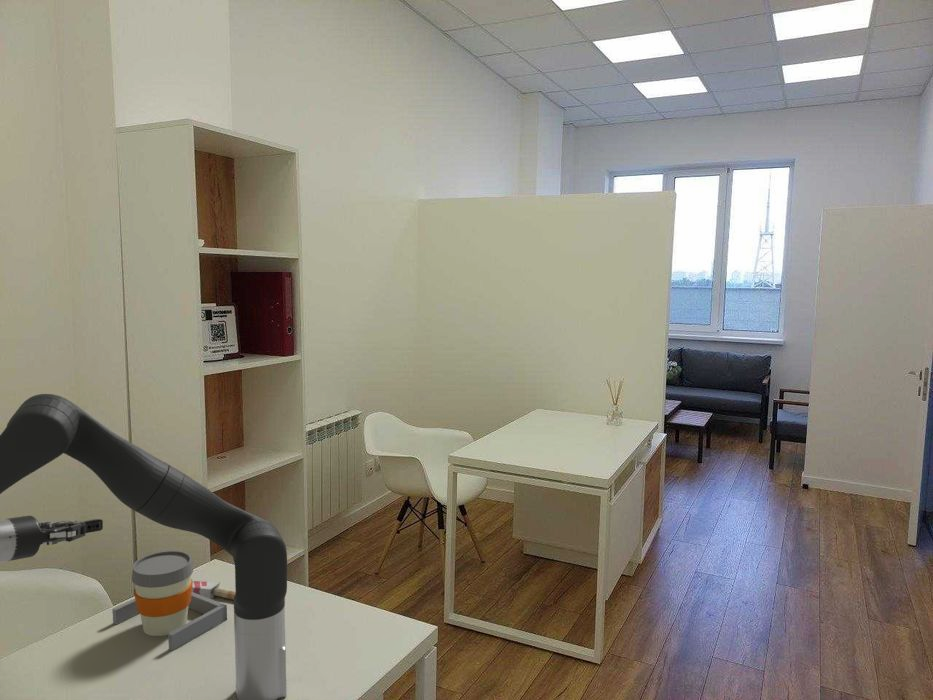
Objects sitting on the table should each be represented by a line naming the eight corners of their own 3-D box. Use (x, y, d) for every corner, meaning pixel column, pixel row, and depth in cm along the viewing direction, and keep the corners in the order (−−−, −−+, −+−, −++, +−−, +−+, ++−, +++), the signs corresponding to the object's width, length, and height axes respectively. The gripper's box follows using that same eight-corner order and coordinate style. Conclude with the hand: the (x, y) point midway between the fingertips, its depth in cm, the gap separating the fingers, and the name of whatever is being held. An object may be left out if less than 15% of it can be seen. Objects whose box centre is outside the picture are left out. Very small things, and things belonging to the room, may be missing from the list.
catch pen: (172, 650, 141) (171, 635, 141) (113, 623, 151) (112, 608, 151) (227, 619, 154) (226, 605, 153) (168, 596, 163) (168, 582, 163)
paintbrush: (187, 574, 169) (255, 591, 163) (187, 584, 169) (255, 601, 163) (177, 581, 165) (246, 598, 159) (176, 591, 165) (245, 609, 159)
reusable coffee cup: (189, 605, 159) (187, 545, 157) (200, 630, 149) (198, 567, 147) (131, 619, 153) (128, 557, 151) (138, 647, 142) (134, 580, 140)
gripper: (22, 521, 116) (119, 506, 131) (-13, 517, 123) (83, 504, 138) (21, 565, 116) (119, 545, 130) (-14, 558, 123) (82, 541, 137)
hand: (100, 524), depth 134 cm, fingers closed
